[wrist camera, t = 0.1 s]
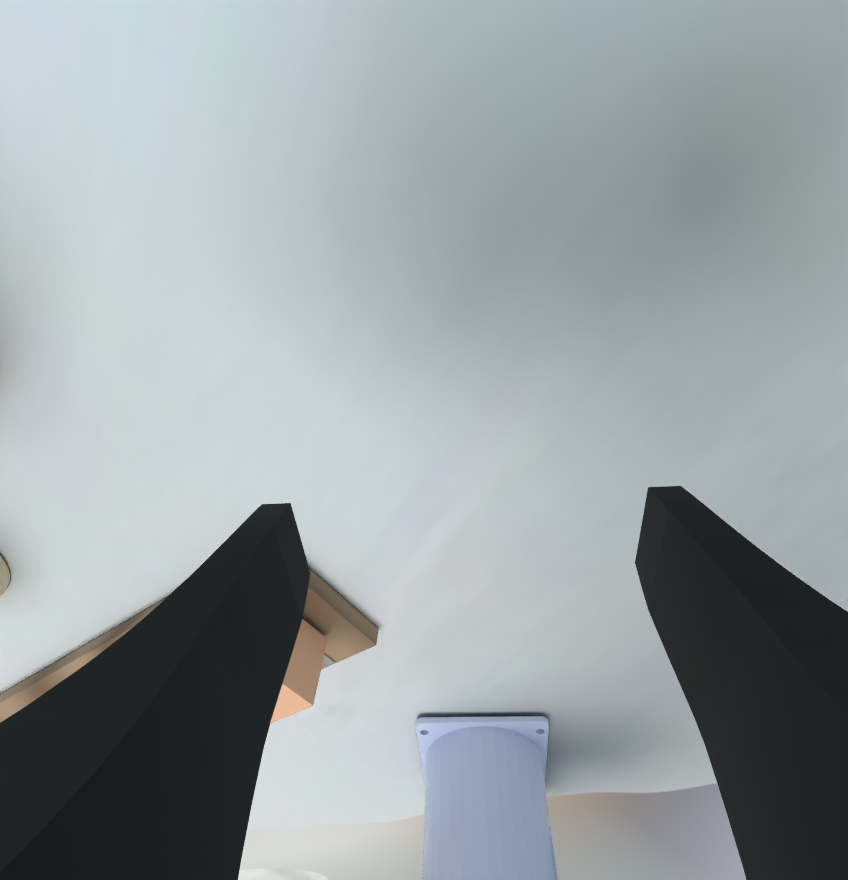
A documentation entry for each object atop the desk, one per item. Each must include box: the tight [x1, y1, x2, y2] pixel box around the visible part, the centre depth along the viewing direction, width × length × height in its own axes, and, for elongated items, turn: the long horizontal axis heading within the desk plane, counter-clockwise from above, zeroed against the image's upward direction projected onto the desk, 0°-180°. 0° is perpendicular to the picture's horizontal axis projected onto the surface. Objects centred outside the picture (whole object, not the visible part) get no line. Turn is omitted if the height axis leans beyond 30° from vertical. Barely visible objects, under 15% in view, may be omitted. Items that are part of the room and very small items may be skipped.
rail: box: [0, 568, 378, 722], centre depth 30 cm, size 25×8×1 cm, turn 126°
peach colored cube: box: [270, 619, 328, 723], centre depth 25 cm, size 4×4×4 cm
